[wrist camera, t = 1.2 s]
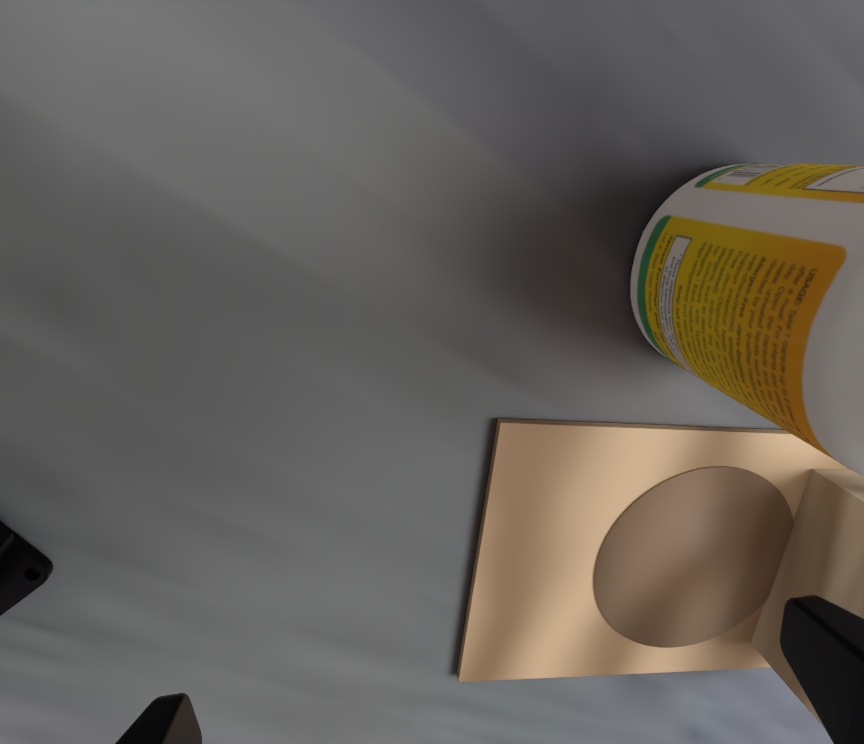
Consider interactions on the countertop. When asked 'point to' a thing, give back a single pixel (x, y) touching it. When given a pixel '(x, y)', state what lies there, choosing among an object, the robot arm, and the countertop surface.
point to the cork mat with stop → (654, 549)
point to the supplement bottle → (765, 294)
